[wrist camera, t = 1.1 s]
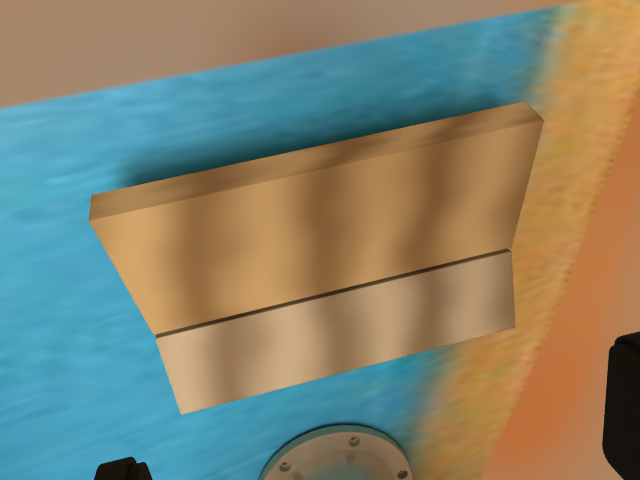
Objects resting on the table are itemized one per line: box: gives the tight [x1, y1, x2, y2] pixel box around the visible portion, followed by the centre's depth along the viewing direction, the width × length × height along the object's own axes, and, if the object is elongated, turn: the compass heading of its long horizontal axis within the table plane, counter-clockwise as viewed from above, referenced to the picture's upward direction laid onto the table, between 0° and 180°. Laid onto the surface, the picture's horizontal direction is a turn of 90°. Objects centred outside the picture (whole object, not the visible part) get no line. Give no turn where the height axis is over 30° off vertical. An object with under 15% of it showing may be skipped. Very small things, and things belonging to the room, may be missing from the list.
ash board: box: [155, 248, 515, 415], centre depth 36 cm, size 24×6×2 cm, turn 100°
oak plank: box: [89, 101, 544, 335], centre depth 31 cm, size 24×10×2 cm, turn 100°
